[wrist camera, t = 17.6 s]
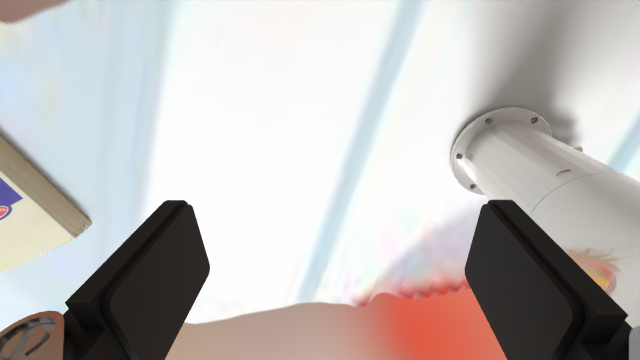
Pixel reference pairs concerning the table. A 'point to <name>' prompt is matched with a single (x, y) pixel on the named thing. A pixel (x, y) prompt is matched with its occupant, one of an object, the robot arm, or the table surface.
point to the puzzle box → (31, 212)
